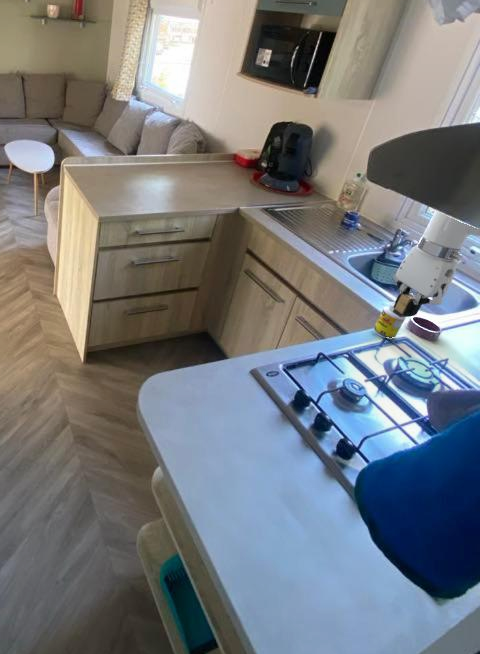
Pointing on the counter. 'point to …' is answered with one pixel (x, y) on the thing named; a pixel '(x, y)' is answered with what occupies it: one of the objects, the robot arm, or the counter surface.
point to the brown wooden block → (403, 304)
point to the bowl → (424, 328)
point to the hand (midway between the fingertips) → (403, 311)
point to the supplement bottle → (388, 322)
